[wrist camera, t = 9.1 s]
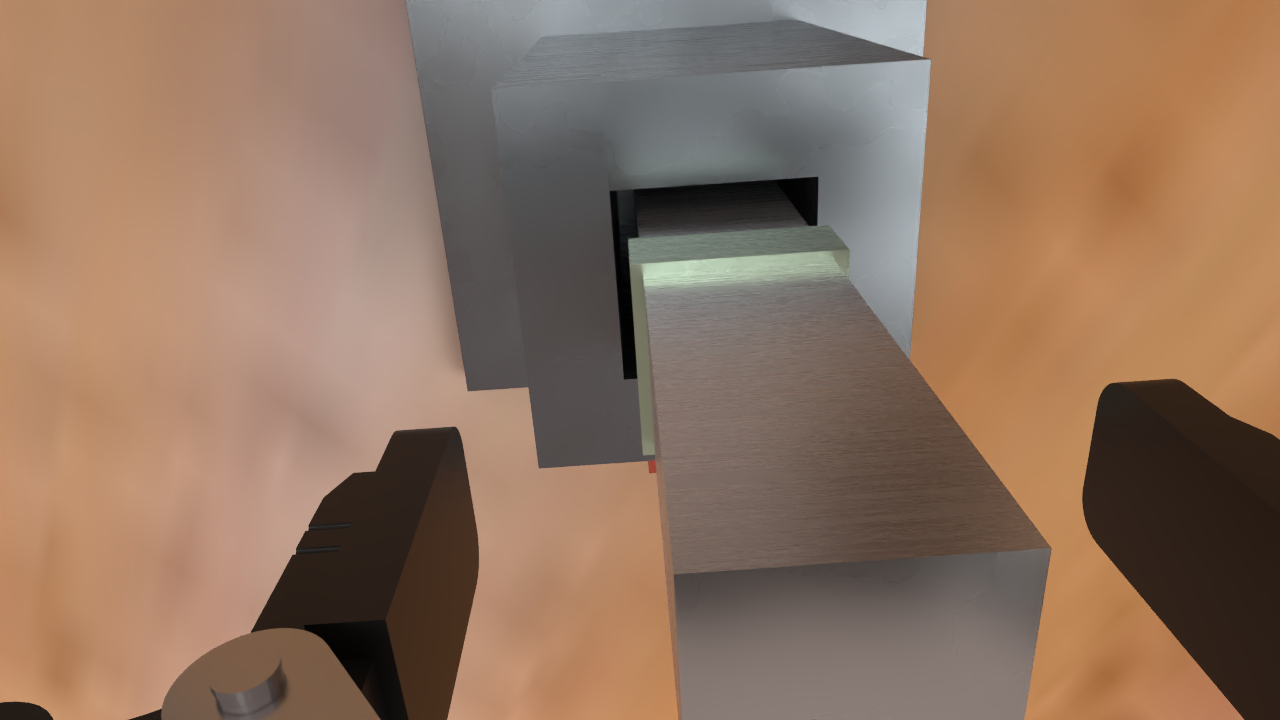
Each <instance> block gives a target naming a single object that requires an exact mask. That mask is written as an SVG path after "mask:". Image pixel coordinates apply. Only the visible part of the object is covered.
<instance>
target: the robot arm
mask: <svg viewBox="0 0 1280 720" xmlns="http://www.w3.org/2000/svg"><path fill="white" fill-rule="evenodd" d="M1082 502H1083V511H1084V516H1085V520H1086V523H1087V526H1088V529H1089V531H1090V533H1091V535H1092V537H1093V539H1094V540H1095V542H1096V543H1097V544H1098V545H1099V547H1100V548H1101V549H1102V550H1103V551H1104V552H1105V554H1106V555H1107V556H1108V557H1109V558H1110V560H1111V561H1112V562H1113V563H1114V564H1115V566H1116V567H1117V568H1118V569H1119V570H1120V572H1121V573H1122V574H1123V575H1124V576H1125V578H1126V579H1127V580H1128V581H1129V582H1130V584H1131V585H1132V586H1133V587H1134V588H1135V589H1136V591H1137V592H1138V593H1139V594H1140V595H1141V597H1142V598H1143V599H1144V600H1145V601H1146V603H1147V604H1148V605H1149V606H1150V607H1151V609H1152V610H1153V611H1154V612H1155V613H1156V615H1157V616H1158V617H1159V618H1160V619H1161V620H1162V622H1163V623H1164V624H1165V625H1166V626H1167V628H1168V629H1169V630H1170V631H1171V632H1172V634H1173V635H1174V636H1175V637H1176V638H1177V640H1178V641H1179V642H1180V643H1181V644H1182V646H1183V647H1184V648H1185V649H1186V650H1187V652H1188V653H1189V654H1190V655H1191V656H1192V657H1193V659H1194V660H1195V661H1196V662H1197V663H1198V665H1199V666H1200V667H1201V668H1202V669H1203V671H1204V672H1205V673H1206V674H1207V675H1208V677H1209V678H1210V679H1211V680H1212V681H1213V683H1214V684H1215V685H1216V686H1217V687H1218V688H1219V690H1220V691H1221V692H1222V693H1223V694H1224V696H1225V697H1226V698H1227V699H1228V700H1229V702H1230V703H1231V704H1232V705H1233V706H1234V708H1235V709H1236V710H1237V711H1238V712H1239V714H1240V715H1241V716H1242V717H1243V718H1244V720H1280V440H1279V439H1278V438H1276V437H1275V436H1274V435H1272V434H1270V433H1268V432H1265V431H1263V430H1261V429H1258V428H1256V427H1253V426H1251V425H1249V424H1246V423H1244V422H1242V421H1239V420H1237V419H1235V418H1232V417H1230V416H1229V415H1227V414H1226V413H1225V412H1223V411H1222V410H1221V409H1219V408H1218V407H1216V406H1215V405H1214V404H1212V403H1211V402H1210V401H1208V400H1207V399H1205V398H1204V397H1203V396H1201V395H1200V394H1199V393H1197V392H1196V391H1195V390H1193V389H1192V388H1190V387H1189V386H1188V385H1186V384H1185V383H1183V382H1182V381H1180V380H1177V379H1163V380H1148V381H1134V382H1119V383H1112V384H1109V385H1108V386H1106V387H1105V389H1104V390H1103V391H1102V393H1101V395H1100V398H1099V401H1098V405H1097V411H1096V417H1095V423H1094V428H1093V434H1092V440H1091V446H1090V452H1089V458H1088V463H1087V469H1086V475H1085V481H1084V487H1083V496H1082ZM478 569H479V546H478V534H477V528H476V522H475V516H474V510H473V504H472V498H471V492H470V486H469V480H468V474H467V468H466V462H465V456H464V450H463V444H462V440H461V436H460V433H459V431H458V429H457V428H456V427H444V428H429V429H414V430H400V431H395V432H394V433H393V435H392V437H391V439H390V441H389V443H388V445H387V448H386V450H385V452H384V454H383V456H382V458H381V460H380V463H379V465H378V467H377V469H376V471H375V472H361V473H353V474H352V475H350V476H349V477H348V478H347V479H346V480H344V481H343V482H342V483H341V484H340V485H338V486H337V487H336V488H335V489H334V490H332V491H331V492H330V493H329V494H328V495H326V496H325V497H324V498H323V500H322V502H321V503H320V505H319V507H318V509H317V511H316V513H315V514H314V516H313V518H312V520H311V522H310V524H309V531H305V533H304V535H303V537H302V539H301V540H300V542H299V544H298V546H297V548H296V555H292V557H291V559H290V561H289V563H288V564H287V566H286V568H285V570H284V572H283V574H282V576H281V577H280V579H279V581H278V583H277V585H276V587H275V589H274V590H273V592H272V594H271V596H270V598H269V600H268V601H267V603H266V605H265V607H264V609H263V611H262V613H261V614H260V616H259V618H258V620H257V622H256V624H255V626H254V627H253V629H252V631H251V633H249V634H246V635H243V636H240V637H237V638H235V639H233V640H230V641H228V642H226V643H224V644H222V645H220V646H218V647H216V648H214V649H212V650H211V651H209V652H208V653H206V654H205V655H203V656H201V657H200V658H199V659H197V660H196V661H195V662H194V663H192V664H191V665H190V666H189V667H188V668H187V669H186V670H185V671H184V672H183V673H182V674H181V675H180V676H179V677H178V678H177V679H176V681H175V682H174V683H173V685H172V686H171V688H170V689H169V691H168V693H167V695H166V696H165V699H164V702H163V705H162V709H160V710H157V711H154V712H151V713H148V714H145V715H143V716H139V717H136V718H133V719H129V720H447V718H448V713H449V708H450V704H451V699H452V695H453V690H454V686H455V681H456V676H457V672H458V667H459V663H460V658H461V653H462V649H463V644H464V640H465V635H466V630H467V626H468V621H469V617H470V612H471V608H472V603H473V598H474V594H475V589H476V585H477V579H478ZM0 720H53V718H52V716H51V715H50V714H49V713H48V711H47V710H45V709H43V708H42V707H40V706H38V705H35V704H31V703H25V702H3V703H0Z"/></svg>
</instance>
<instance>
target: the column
mask: <svg viewBox="0 0 1280 720" xmlns="http://www.w3.org/2000/svg"><path fill="white" fill-rule="evenodd" d="M633 197H634V213H635V228H636V238H631V239H628V246H629V263H630V277H631V292H632V306H633V320H634V334H635V349H636V363H637V377H638V392H639V406H640V420H641V435H642V449H643V455H655V461H656V472H657V483H658V495H659V506H660V517H661V529H662V540H663V551H664V563H665V574H666V585H667V597H668V608H669V619H670V631H671V642H672V653H673V665H674V676H675V687H676V698H677V710H678V720H1024V717H1025V711H1026V705H1027V698H1028V692H1029V686H1030V680H1031V673H1032V667H1033V661H1034V655H1035V648H1036V642H1037V636H1038V630H1039V623H1040V617H1041V611H1042V605H1043V598H1044V592H1045V586H1046V580H1047V573H1048V567H1049V561H1050V555H1051V547H1050V546H1049V544H1048V543H1047V542H1046V540H1045V539H1044V538H1043V536H1042V535H1041V534H1040V532H1039V531H1038V530H1037V528H1036V527H1035V526H1034V524H1033V523H1032V522H1031V520H1030V519H1029V518H1028V516H1027V515H1026V514H1025V512H1024V511H1023V510H1022V508H1021V507H1020V506H1019V504H1018V503H1017V502H1016V500H1015V499H1014V498H1013V496H1012V495H1011V494H1010V492H1009V491H1008V490H1007V489H1006V487H1005V486H1004V485H1003V483H1002V482H1001V481H1000V479H999V478H998V477H997V475H996V474H995V473H994V471H993V470H992V469H991V467H990V466H989V465H988V463H987V462H986V461H985V459H984V458H983V457H982V455H981V454H980V453H979V451H978V450H977V449H976V447H975V446H974V445H973V443H972V442H971V441H970V439H969V438H968V437H967V435H966V434H965V433H964V431H963V430H962V429H961V427H960V426H959V425H958V423H957V422H956V421H955V420H954V418H953V417H952V416H951V414H950V413H949V412H948V410H947V409H946V408H945V406H944V405H943V404H942V402H941V401H940V400H939V398H938V397H937V396H936V394H935V393H934V392H933V390H932V389H931V388H930V386H929V385H928V384H927V382H926V381H925V380H924V378H923V377H922V376H921V374H920V373H919V372H918V370H917V369H916V368H915V366H914V365H913V364H912V362H911V361H910V360H909V358H908V357H907V356H906V354H905V353H904V352H903V350H902V349H901V348H900V347H899V345H898V344H897V343H896V341H895V340H894V339H893V337H892V336H891V335H890V333H889V332H888V331H887V329H886V328H885V327H884V325H883V324H882V323H881V321H880V320H879V319H878V317H877V316H876V315H875V313H874V312H873V311H872V309H871V308H870V307H869V305H868V304H867V303H866V301H865V300H864V299H863V297H862V296H861V295H860V293H859V292H858V291H857V289H856V288H855V287H854V285H853V284H852V283H851V281H850V280H849V256H850V249H849V248H848V247H847V246H846V244H845V243H844V242H843V241H842V240H841V238H840V237H839V236H838V235H837V234H836V232H835V231H834V230H833V229H832V228H831V226H830V225H821V226H808V224H807V223H806V222H805V220H804V219H803V218H802V216H801V215H800V214H799V212H798V211H797V210H796V208H795V207H794V206H793V205H792V203H791V202H790V201H789V199H788V198H787V197H786V195H785V194H784V193H783V191H782V190H781V189H780V187H779V186H778V185H777V183H776V182H775V181H774V180H761V181H746V182H732V183H717V184H702V185H688V186H673V187H658V188H644V189H633Z"/></svg>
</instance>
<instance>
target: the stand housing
mask: <svg viewBox="0 0 1280 720" xmlns="http://www.w3.org/2000/svg"><path fill="white" fill-rule="evenodd" d="M926 4H927V0H406V6H407V13H408V19H409V25H410V31H411V38H412V44H413V50H414V56H415V63H416V69H417V75H418V82H419V88H420V94H421V100H422V107H423V113H424V119H425V125H426V132H427V138H428V144H429V151H430V157H431V163H432V169H433V176H434V182H435V188H436V194H437V201H438V207H439V213H440V220H441V226H442V232H443V238H444V245H445V251H446V257H447V263H448V270H449V276H450V282H451V289H452V295H453V301H454V307H455V314H456V320H457V326H458V332H459V339H460V345H461V351H462V358H463V364H464V370H465V376H466V383H467V389H468V391H478V390H492V389H507V388H521V387H529V394H530V402H531V410H532V418H533V425H534V433H535V441H536V449H537V457H538V465H539V468H550V467H565V466H580V465H594V464H609V463H623V462H638V461H648V463H649V473H657V472H656V461H655V455H643V449H642V435H641V420H640V406H639V392H638V377H637V363H636V349H635V334H634V320H633V306H632V292H631V277H630V263H629V246H628V239H631V238H636V228H635V213H634V197H633V189H644V188H658V187H673V186H688V185H702V184H717V183H732V182H746V181H761V180H774V181H775V182H776V183H777V185H778V186H779V187H780V189H781V190H782V191H783V193H784V194H785V195H786V197H787V198H788V199H789V201H790V202H791V203H792V205H793V206H794V207H795V208H796V210H797V211H798V212H799V214H800V215H801V216H802V218H803V219H804V220H805V222H806V223H807V224H808V226H821V225H830V226H831V228H832V229H833V230H834V231H835V232H836V234H837V235H838V236H839V237H840V238H841V240H842V241H843V242H844V243H845V244H846V246H847V247H848V248H849V249H850V256H849V280H850V281H851V283H852V284H853V285H854V287H855V288H856V289H857V291H858V292H859V293H860V295H861V296H862V297H863V299H864V300H865V301H866V303H867V304H868V305H869V307H870V308H871V309H872V311H873V312H874V313H875V315H876V316H877V317H878V319H879V320H880V321H881V323H882V324H883V325H884V327H885V328H886V329H887V331H888V332H889V333H890V335H891V336H892V337H893V339H894V340H895V341H896V343H897V344H898V345H899V347H900V348H901V349H902V350H903V352H904V353H905V354H906V356H907V357H908V358H909V360H910V348H911V334H912V320H913V306H914V292H915V278H916V264H917V250H918V236H919V222H920V208H921V194H922V180H923V166H924V151H925V137H926V123H927V109H928V95H929V81H930V67H931V59H929V58H925V57H923V48H924V33H925V18H926Z"/></svg>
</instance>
